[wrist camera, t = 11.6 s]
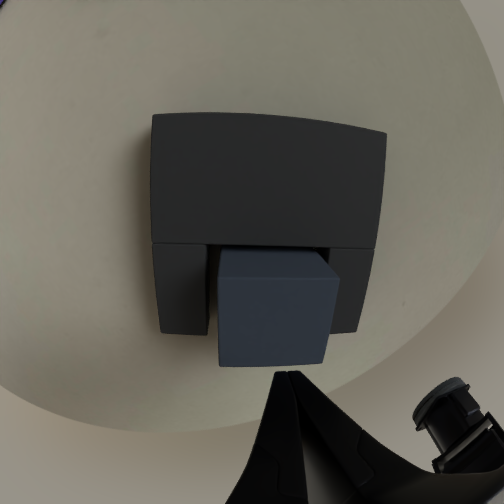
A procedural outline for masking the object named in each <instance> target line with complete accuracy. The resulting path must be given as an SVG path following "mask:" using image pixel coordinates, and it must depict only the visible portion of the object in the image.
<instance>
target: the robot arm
mask: <svg viewBox="0 0 504 504" xmlns="http://www.w3.org/2000/svg"><path fill="white" fill-rule="evenodd" d="M469 388H470V385H469V384H467V385H465V386H462V387H460V388H457V389H455V390H452V391H450V392H447V393H444V394H442V395H439V396H437V397H436V398H435V400H434V401H433V403H432V404H431V406H430V408H429V409H428V411H427V412H426V414H425V415H424V417H423V418H422V420H421V421H420V423H419V424H418V426H417V427H416V431H420V430H423V429H427V431H428V433H429V434H430V436H431V438H432V439H433V441H434V443H435V444H436V446H437V448H438V449H439V451H440V453H441V455H440V456H439V457H437V458H435V459H434V460H432V463H433V464H432V466H433V469H434V471H435V473H431V472H428V471H425V470H422V469H420V468H419V467H417V466H415V465H413V464H411V463H410V462H408V461H407V460H405V459H404V458H402V457H400V456H399V455H397V454H395V453H394V452H392V451H391V450H389V449H388V448H386V447H385V446H383V445H382V444H381V443H380V442H378V441H377V440H376V439H375V438H373V437H372V436H371V435H370V434H368V433H367V432H366V431H365V430H362V428H361V427H360V426H359V425H358V424H357V423H356V422H355V421H353V420H352V419H351V418H350V417H349V416H348V415H347V414H346V413H345V412H343V411H342V410H341V409H340V408H339V407H338V406H337V405H336V404H334V403H333V402H332V401H331V400H330V399H329V398H328V397H327V396H326V395H325V394H324V393H323V392H322V391H321V390H319V389H318V388H317V387H316V386H315V385H314V384H313V383H312V382H311V381H310V380H309V379H308V378H307V377H306V376H305V375H304V374H303V373H302V372H300V371H298V370H297V371H288V372H286V371H277V372H275V373H274V377H273V381H272V384H271V388H270V392H269V395H268V399H267V402H266V406H265V409H264V413H263V416H262V419H261V423H260V426H259V429H258V433H257V436H256V439H255V443H254V445H253V448H252V451H251V454H250V457H249V459H248V462H247V465H246V467H245V469H244V471H243V473H242V475H241V477H240V479H239V480H238V482H237V484H236V486H235V488H234V489H233V491H232V493H231V494H230V496H229V498H228V499H227V501H226V503H225V504H504V430H503V429H502V428H501V426H500V425H499V424H498V423H497V421H496V420H495V419H494V417H493V416H492V415H491V414H490V413H489V412H487V413H486V414H485V416H484V415H483V414H482V413H481V411H480V410H479V409H480V406H479V405H478V403H477V402H476V401H475V400H474V398H473V397H472V396H471V395H470V394H469V392H468V390H469ZM491 424H493V426H492V427H491V428H490V429H488V427H489V426H490V425H491Z"/></svg>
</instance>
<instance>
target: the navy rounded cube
mask: <svg viewBox="0 0 504 504" xmlns="http://www.w3.org/2000/svg"><path fill="white" fill-rule="evenodd" d="M339 281H340V278H339V277H338V276H337V274H336V273H335V272H334V271H333V270H332V269H331V268H330V266H329V265H328V264H327V263H326V262H325V261H324V260H323V258H322V257H321V256H320V255H319V254H318V253H317V252H316V251H315V249H314V248H313V247H291V246H256V245H221V252H220V260H219V268H218V276H217V311H218V354H219V366H220V367H268V366H292V365H308V364H320V363H322V362H323V358H324V354H325V350H326V346H327V341H328V337H329V332H330V328H331V323H332V318H333V313H334V308H335V303H336V298H337V292H338V287H339Z"/></svg>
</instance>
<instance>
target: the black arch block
mask: <svg viewBox="0 0 504 504" xmlns="http://www.w3.org/2000/svg"><path fill="white" fill-rule="evenodd" d="M386 142H387V134H386V133H384V132H379V131H375V130H370V129H366V128H361V127H356V126H351V125H345V124H339V123H333V122H327V121H320V120H313V119H306V118H297V117H288V116H278V115H265V114H250V113H220V112H197V113H168V114H154V115H153V116H152V133H151V160H150V207H151V235H152V243H153V244H152V252H153V266H154V277H155V288H156V298H157V306H158V315H159V322H160V330H161V333H167V334H183V335H203V336H206V335H207V334H208V326H209V318H210V317H209V244H217V245H256V246H291V247H318V254H319V255H320V256H321V257H322V258H323V260H324V261H325V262H326V263H327V264H328V265H329V266H330V268H331V269H332V270H333V271H334V272H335V273H336V274H337V276H338V277H339V278H340V281H339V287H338V292H337V298H336V303H335V308H334V313H333V318H332V323H331V328H330V332H329V334H338V333H351V332H356V331H357V327H358V323H359V320H360V316H361V312H362V308H363V303H364V299H365V295H366V290H367V286H368V281H369V277H370V272H371V267H372V261H373V256H374V249H375V244H376V238H377V232H378V225H379V218H380V211H381V203H382V194H383V184H384V173H385V160H386Z"/></svg>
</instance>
